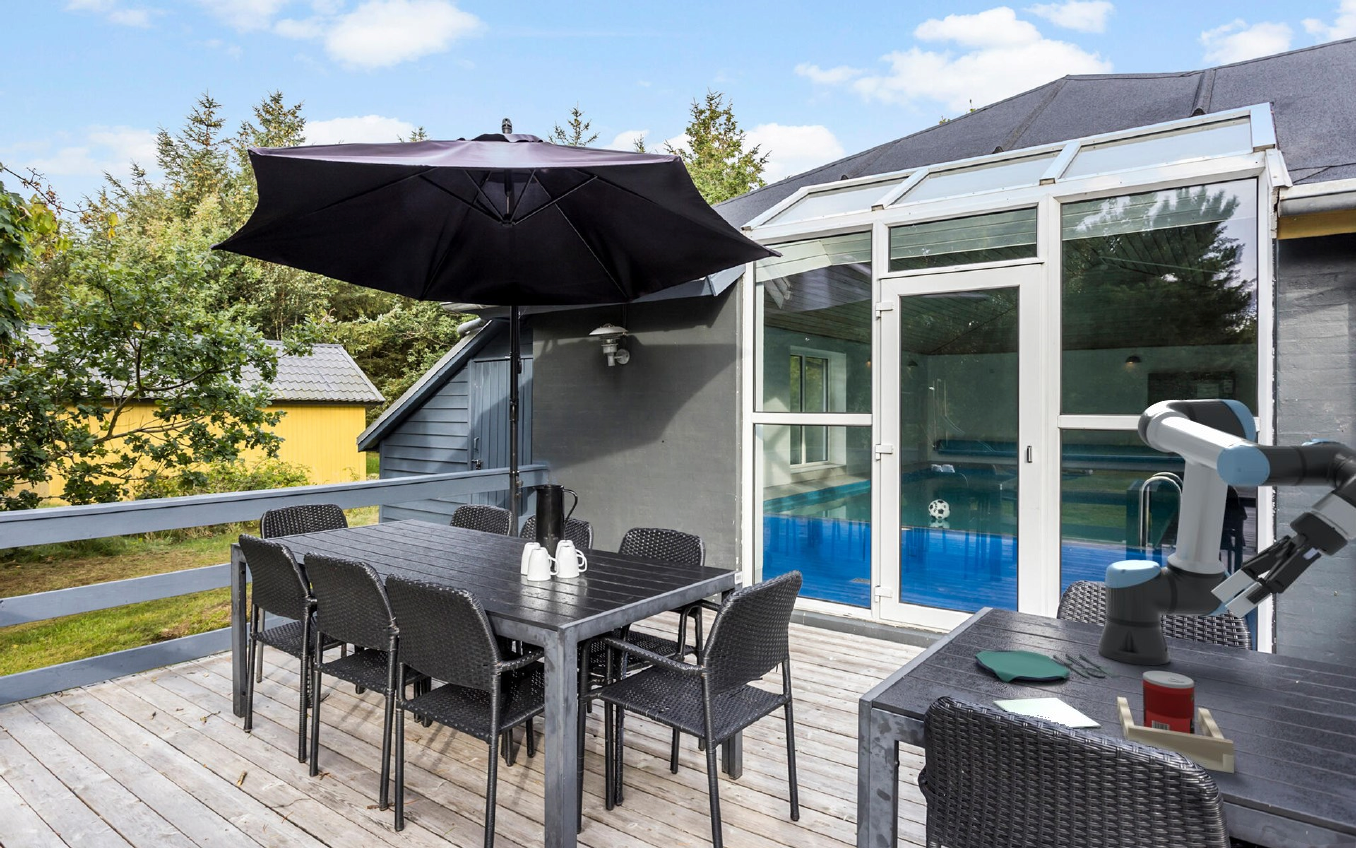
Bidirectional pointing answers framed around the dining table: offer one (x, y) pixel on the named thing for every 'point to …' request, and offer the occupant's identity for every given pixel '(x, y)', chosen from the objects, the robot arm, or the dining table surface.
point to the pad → (1048, 711)
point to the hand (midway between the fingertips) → (1224, 604)
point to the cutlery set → (1032, 665)
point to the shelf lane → (1183, 739)
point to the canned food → (1168, 702)
